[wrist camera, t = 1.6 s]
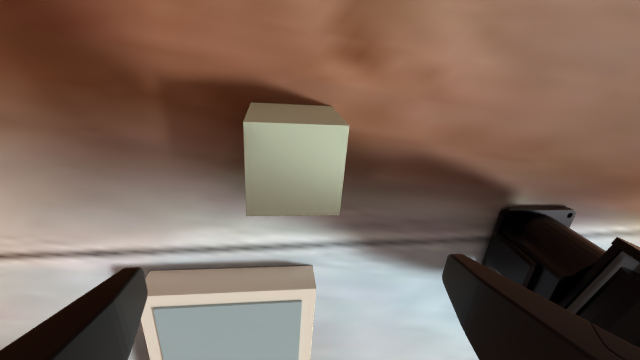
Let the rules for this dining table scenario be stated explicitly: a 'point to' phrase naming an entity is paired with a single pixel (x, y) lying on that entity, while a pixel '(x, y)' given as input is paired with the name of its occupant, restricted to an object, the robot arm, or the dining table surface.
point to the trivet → (230, 313)
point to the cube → (294, 159)
